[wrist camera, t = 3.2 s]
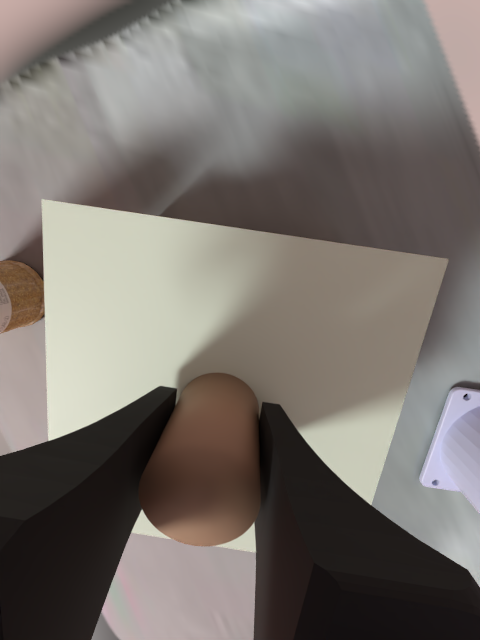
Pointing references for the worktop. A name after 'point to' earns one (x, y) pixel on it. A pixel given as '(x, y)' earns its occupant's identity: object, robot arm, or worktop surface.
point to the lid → (228, 352)
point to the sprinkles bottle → (20, 296)
